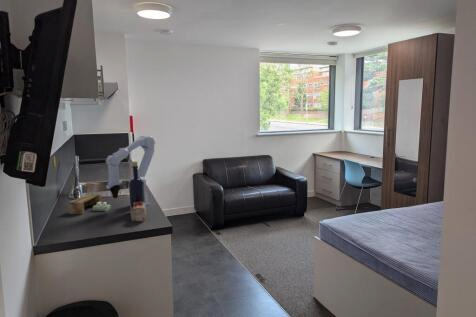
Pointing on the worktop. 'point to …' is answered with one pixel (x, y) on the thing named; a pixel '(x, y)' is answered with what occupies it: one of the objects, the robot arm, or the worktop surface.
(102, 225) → the worktop surface
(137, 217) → the food item
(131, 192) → the bottle
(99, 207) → the tray
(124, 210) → the worktop surface
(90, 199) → the wooden arch bridge
